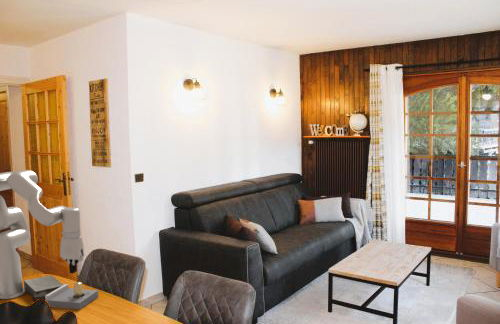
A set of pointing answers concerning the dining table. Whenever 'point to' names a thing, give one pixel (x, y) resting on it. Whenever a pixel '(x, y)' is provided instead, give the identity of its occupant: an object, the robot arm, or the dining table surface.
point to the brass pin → (78, 289)
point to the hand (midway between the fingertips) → (73, 272)
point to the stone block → (41, 286)
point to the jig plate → (70, 298)
